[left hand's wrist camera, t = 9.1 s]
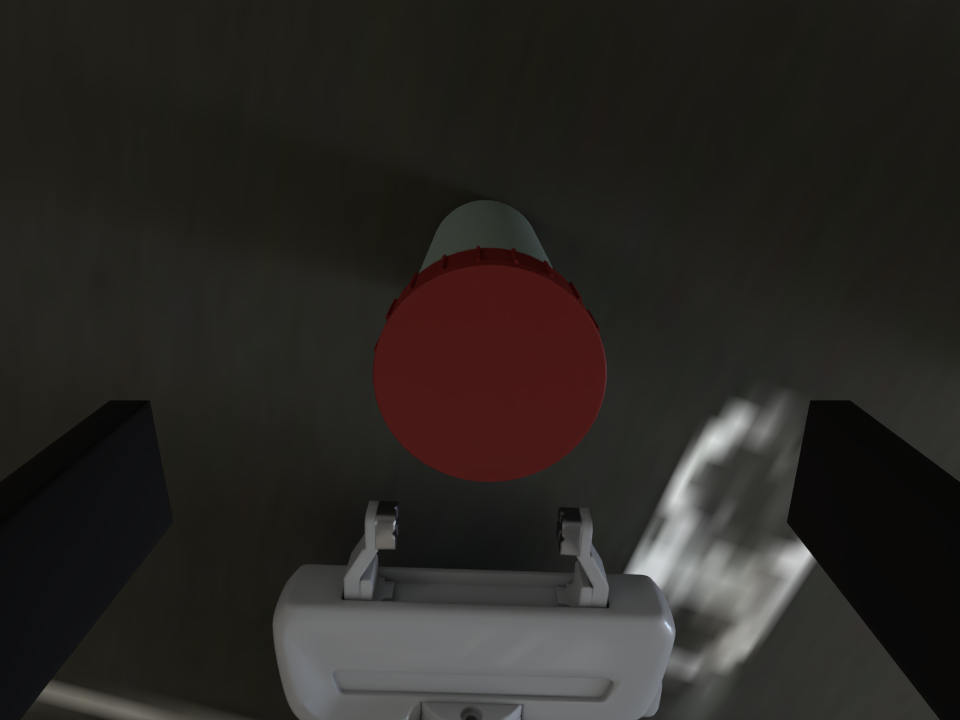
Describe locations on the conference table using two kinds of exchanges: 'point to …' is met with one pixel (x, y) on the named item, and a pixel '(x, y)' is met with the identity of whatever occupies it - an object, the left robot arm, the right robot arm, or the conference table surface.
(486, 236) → the jar
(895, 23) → the conference table surface
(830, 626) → the conference table surface
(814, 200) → the conference table surface
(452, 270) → the lid
